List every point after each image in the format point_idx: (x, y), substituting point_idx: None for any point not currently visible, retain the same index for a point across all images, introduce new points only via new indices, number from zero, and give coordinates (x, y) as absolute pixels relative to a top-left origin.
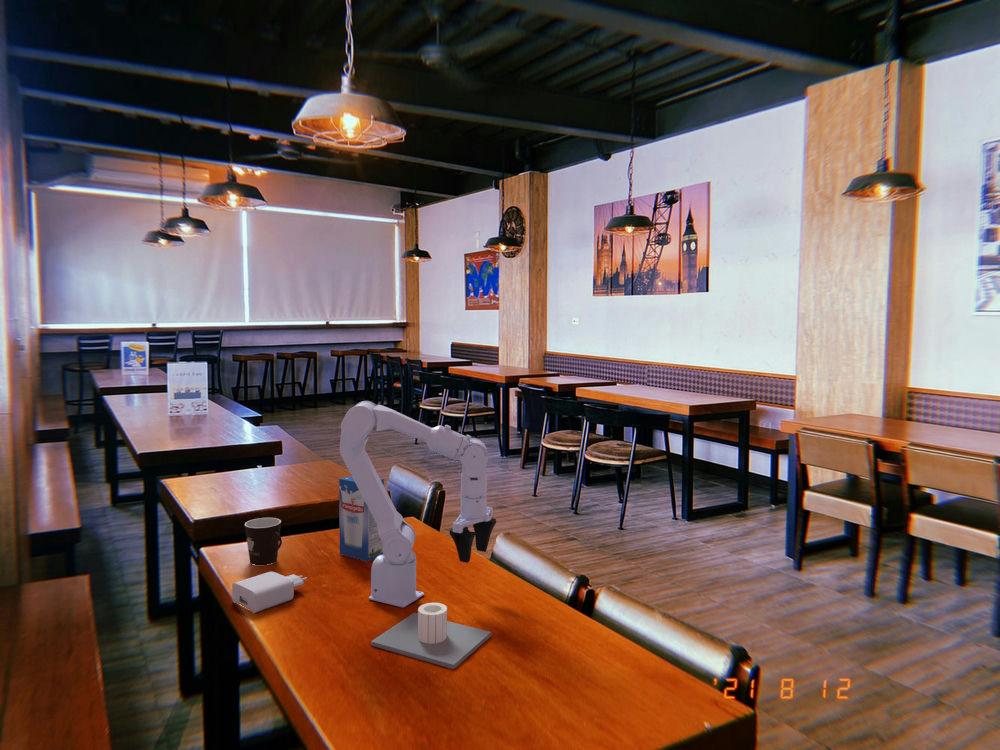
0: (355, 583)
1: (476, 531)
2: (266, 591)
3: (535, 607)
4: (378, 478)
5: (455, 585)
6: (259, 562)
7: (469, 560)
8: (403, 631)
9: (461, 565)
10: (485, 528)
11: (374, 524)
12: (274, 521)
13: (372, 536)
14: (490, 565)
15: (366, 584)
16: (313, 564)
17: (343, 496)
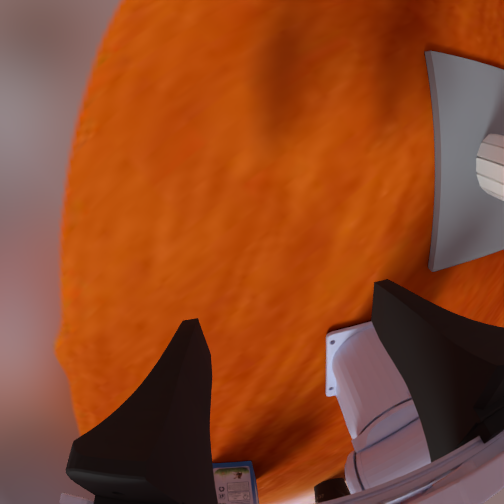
0: (338, 424)
1: (207, 446)
2: None
3: (191, 28)
4: None
5: (223, 322)
6: (344, 482)
7: (381, 283)
8: (492, 227)
9: (121, 378)
10: (182, 443)
11: None
12: None
13: (241, 496)
14: (63, 332)
15: (333, 416)
16: (306, 472)
17: None
